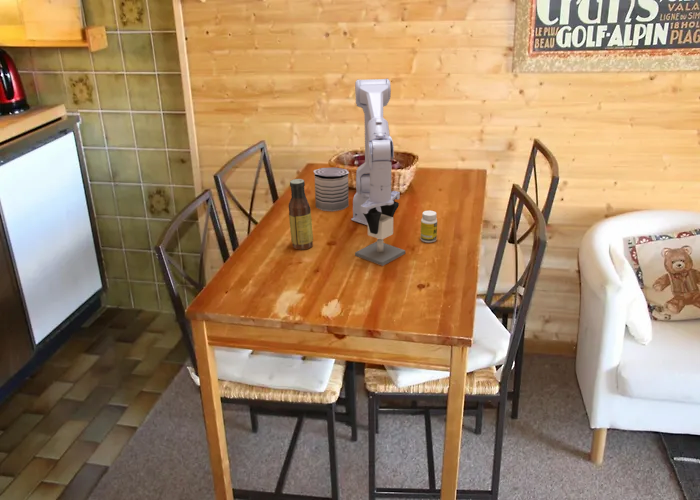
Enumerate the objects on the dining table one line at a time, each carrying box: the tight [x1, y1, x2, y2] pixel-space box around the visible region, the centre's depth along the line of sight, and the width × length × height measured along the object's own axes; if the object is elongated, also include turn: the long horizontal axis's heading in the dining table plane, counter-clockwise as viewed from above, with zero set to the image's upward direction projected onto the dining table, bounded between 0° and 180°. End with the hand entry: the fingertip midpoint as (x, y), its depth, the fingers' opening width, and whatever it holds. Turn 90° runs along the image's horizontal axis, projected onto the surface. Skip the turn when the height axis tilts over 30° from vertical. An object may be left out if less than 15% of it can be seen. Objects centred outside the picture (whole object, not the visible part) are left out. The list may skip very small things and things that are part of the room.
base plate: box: [354, 238, 406, 267], centre depth 199 cm, size 10×10×4 cm
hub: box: [367, 214, 394, 240], centre depth 196 cm, size 5×5×5 cm
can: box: [313, 167, 350, 212], centre depth 231 cm, size 11×11×12 cm
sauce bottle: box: [288, 178, 314, 251], centre depth 201 cm, size 7×6×20 cm
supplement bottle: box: [419, 210, 438, 243], centre depth 206 cm, size 5×5×8 cm
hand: (380, 229), depth 196 cm, fingers closed on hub, 5 cm apart
